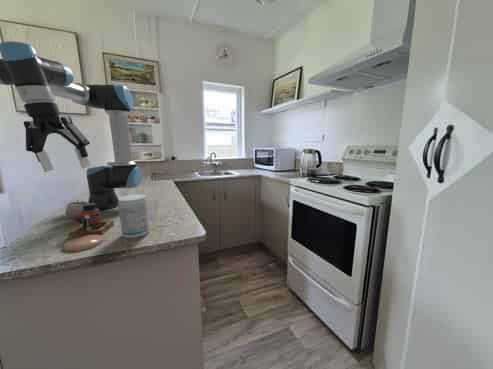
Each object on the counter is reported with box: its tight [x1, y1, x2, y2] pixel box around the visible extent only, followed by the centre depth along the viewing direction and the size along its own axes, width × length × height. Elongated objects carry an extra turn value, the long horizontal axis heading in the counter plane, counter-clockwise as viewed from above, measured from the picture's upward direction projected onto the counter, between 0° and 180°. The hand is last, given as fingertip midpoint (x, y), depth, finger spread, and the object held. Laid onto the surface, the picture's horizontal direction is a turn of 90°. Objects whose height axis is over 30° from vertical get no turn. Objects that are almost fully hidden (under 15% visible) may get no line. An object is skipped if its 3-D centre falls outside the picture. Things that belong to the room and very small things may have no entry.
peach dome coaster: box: [63, 235, 105, 253], centre depth 73 cm, size 11×11×1 cm
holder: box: [67, 220, 115, 239], centre depth 84 cm, size 11×11×2 cm
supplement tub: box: [117, 194, 150, 239], centre depth 80 cm, size 10×10×15 cm
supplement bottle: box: [81, 202, 102, 231], centre depth 83 cm, size 6×6×11 cm
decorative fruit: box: [65, 199, 88, 222], centre depth 95 cm, size 9×8×10 cm
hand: (67, 169), depth 71 cm, fingers open, 13 cm apart
